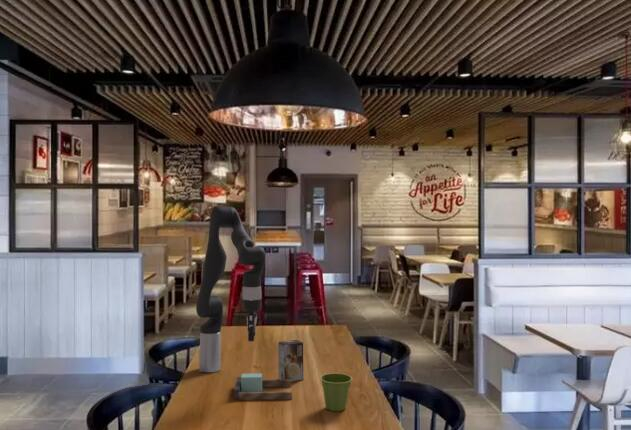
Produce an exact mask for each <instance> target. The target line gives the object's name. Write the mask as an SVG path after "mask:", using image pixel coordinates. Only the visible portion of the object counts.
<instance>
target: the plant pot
mask: <svg viewBox="0 0 631 430" xmlns="http://www.w3.org/2000/svg"><path fill="white" fill-rule="evenodd" d="M319 379H320V381H321V385H322V391H323V396H324V404H325V409H326V410H329V411H331V412H342V411H344V410H346V408H347V402H348V397H349V396H348V395H349V390H350V387H351V384H352V383H351V382H353V377H352V376H351V375H349V374H345V373H340V372H339V373H335V372H334V373H330V372H329V373H325V374H322V375H320V377H319Z"/></svg>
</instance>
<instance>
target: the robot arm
mask: <svg viewBox="0 0 631 430" xmlns="http://www.w3.org/2000/svg"><path fill="white" fill-rule="evenodd" d="M208 228H209V229H208V240H207V245H206V246H207V247H206V253H205V256H204V257H205V258H204V263H203V272H202V277H201V278H202V279H201V283H200V287H199V288H200V289H199V292H198V295H197V299H196V304H195V306H196V308H195V309H196V314H197V317H200V318H202V319H203V318H205V319H207V318H209V319H207V321H206V322H204V323H203V324H201V325H200V328H199V330H200V331H199V336H200V337H199V350H198V351H199V355H198V358H199V360H198V362H199V363H198V369H199V371H198V372H200V373H201V372H202V373H216V372H219V371H221V370H222V363H221V362H222V354H221V353H222V326H223V313H224V306H223V305H224V304H223V299H222V298H221V297H220V296H219V295H212V292H213V289H214V288H215V286H216V284H217V283H218V281H220V279H221V278H222V276H223V274H224V272H225V270H226V264H227V259H228V258H227V254H226V251H225V248H224V246H223V244H222V242H221V240H220V228H226V229H227V228H228V229H229V228H230V229H232V232H231V233H230V234H231V235H230V239H231V242H232V245H234V248H235V249H236V250H237V255H238V261H239V262H240V263H241V264H242V265H243V266H253V267H252V269H250V270H246V271H244V272H243V275H242V298H241V299H242V301H241V304H242V305H241V307H242V308H241V309H242V310H243V311H248V313H247V314H246V326H247V332H248V333H247V335H248V336H247V339H248V340H247V341H248V342H254V341H255V336H256V325H257V321H258V320H257V319H258V313H257V312H258V311H261V310H262V299H263V298H262V296H263V295H262V293H263V292H262V273H263V270H264V267H265V266H264V265H265V262H266V257H267V255H266V254H267V253H266V251H265V249H264V248H263V247H261V246H254V241H253V240H252V238H251V237H250V236H249V234H248V233H247V231H246V230H245V227H244V225H243V223H242V220H241V218H240V215H239V213H238V210H236V208H235V207H232V206H222V205H221V206H220V205H215V206H213V207H212V209H211V210H210V215H209V227H208Z"/></svg>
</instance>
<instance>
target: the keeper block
mask: <svg viewBox="0 0 631 430" xmlns="http://www.w3.org/2000/svg"><path fill="white" fill-rule="evenodd" d="M240 377H241V392H263V387H262V380H263V373H241V376H240Z"/></svg>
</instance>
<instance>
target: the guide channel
mask: <svg viewBox="0 0 631 430" xmlns="http://www.w3.org/2000/svg"><path fill="white" fill-rule="evenodd" d="M284 387H285V388H286V387H287V388H289V387H290V388H291V387H292V382H291V380H280V379H262V388H284ZM292 399H293V391H265V392H264V391H262V392H241V376H237V377H236V380H235V384H234V388H233V401H258V400H260V401H263V400H292Z"/></svg>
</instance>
